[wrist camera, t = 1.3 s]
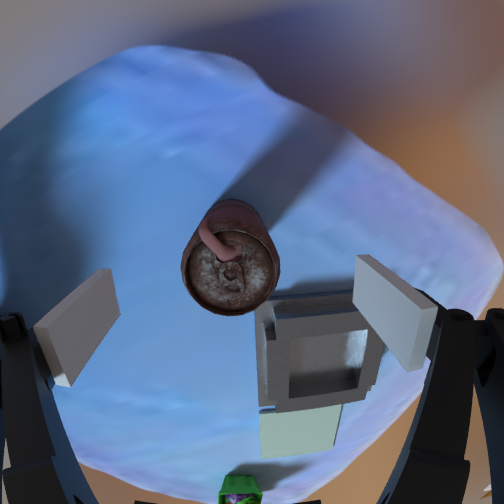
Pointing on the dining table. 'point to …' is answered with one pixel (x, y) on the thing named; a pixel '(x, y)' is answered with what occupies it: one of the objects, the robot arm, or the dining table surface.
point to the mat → (298, 431)
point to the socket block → (314, 351)
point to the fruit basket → (239, 491)
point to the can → (230, 260)
